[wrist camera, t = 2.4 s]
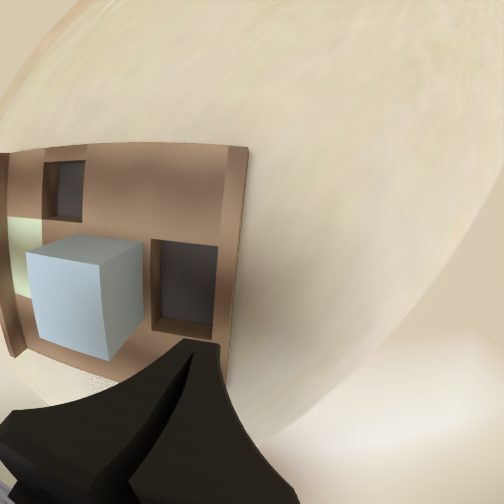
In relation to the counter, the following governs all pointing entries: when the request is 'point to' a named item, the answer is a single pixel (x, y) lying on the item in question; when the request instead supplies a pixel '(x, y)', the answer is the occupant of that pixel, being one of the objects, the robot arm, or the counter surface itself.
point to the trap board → (129, 238)
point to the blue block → (87, 292)
